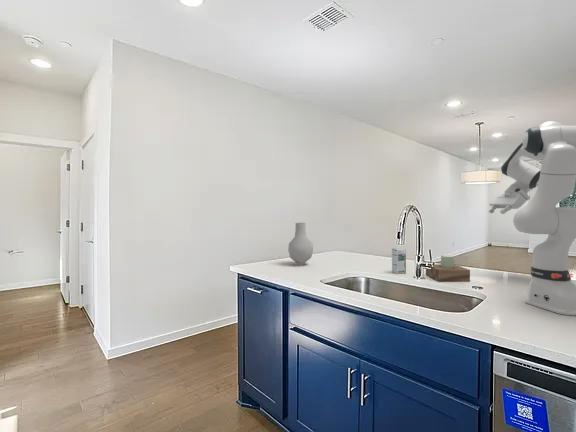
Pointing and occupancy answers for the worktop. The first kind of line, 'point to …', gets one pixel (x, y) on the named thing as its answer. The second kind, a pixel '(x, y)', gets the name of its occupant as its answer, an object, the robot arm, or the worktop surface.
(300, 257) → the vase
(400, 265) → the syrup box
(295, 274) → the worktop surface
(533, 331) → the worktop surface
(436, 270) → the well block
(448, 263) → the peg
